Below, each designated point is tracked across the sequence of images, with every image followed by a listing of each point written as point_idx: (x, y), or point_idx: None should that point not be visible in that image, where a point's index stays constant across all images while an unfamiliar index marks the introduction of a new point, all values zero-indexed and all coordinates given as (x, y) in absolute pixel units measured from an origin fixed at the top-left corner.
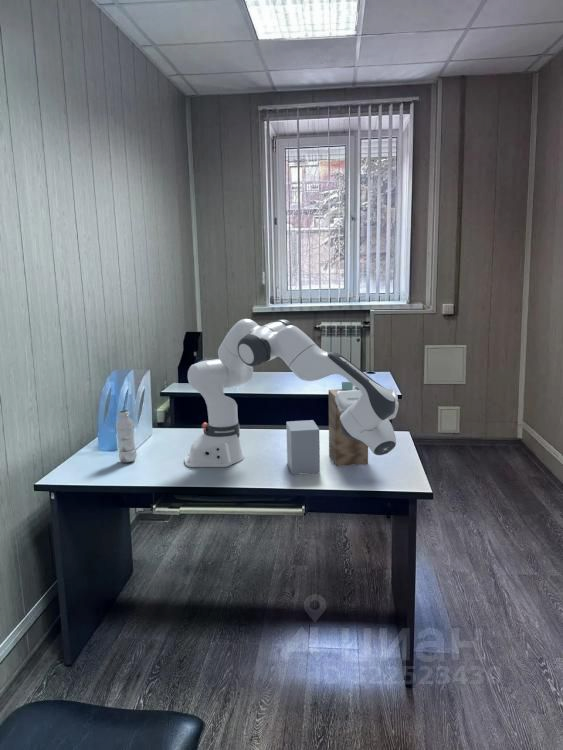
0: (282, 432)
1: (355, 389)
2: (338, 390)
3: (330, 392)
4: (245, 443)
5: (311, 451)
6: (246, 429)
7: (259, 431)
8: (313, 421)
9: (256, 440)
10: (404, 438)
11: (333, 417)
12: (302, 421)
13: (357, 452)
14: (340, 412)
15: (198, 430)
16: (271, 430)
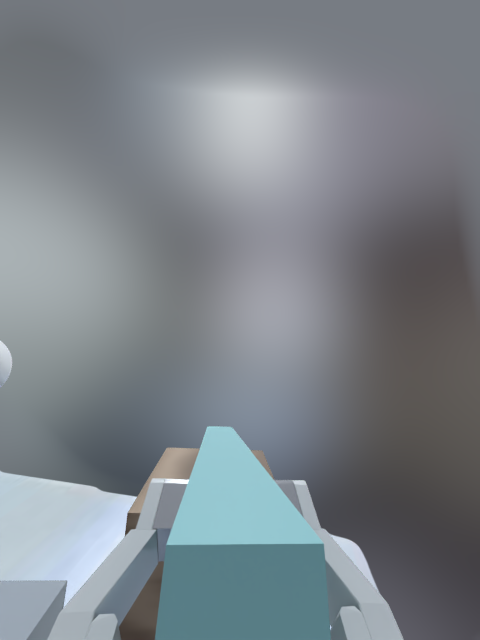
0: (130, 506)
1: (99, 634)
2: (192, 455)
3: (159, 462)
4: (11, 546)
5: None
6: (83, 486)
7: (96, 496)
8: (49, 602)
9: (50, 534)
10: (372, 579)
11: None
12: (10, 592)
13: None
14: (142, 606)
15: (10, 479)
16: (118, 496)
